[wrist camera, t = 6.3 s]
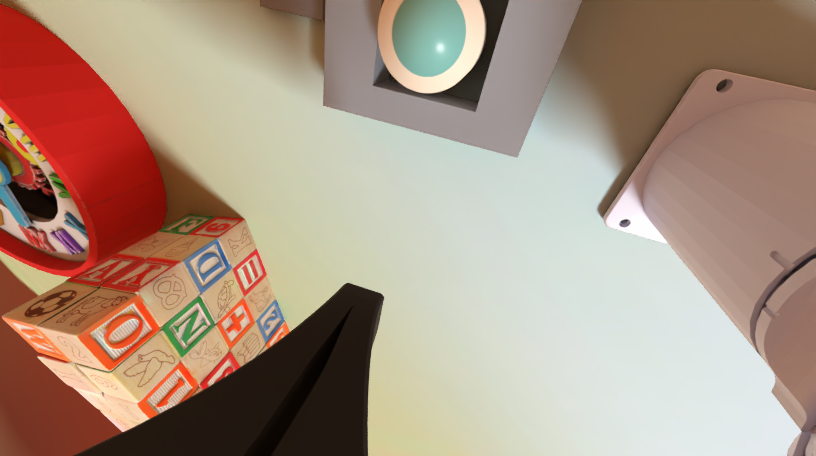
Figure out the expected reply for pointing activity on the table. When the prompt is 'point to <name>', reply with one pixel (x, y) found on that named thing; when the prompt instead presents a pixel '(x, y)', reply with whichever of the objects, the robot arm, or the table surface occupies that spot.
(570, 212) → the table surface
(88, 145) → the toy clock
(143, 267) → the stack of blocks
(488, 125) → the button board
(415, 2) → the button
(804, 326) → the robot arm
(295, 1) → the pattern tile
